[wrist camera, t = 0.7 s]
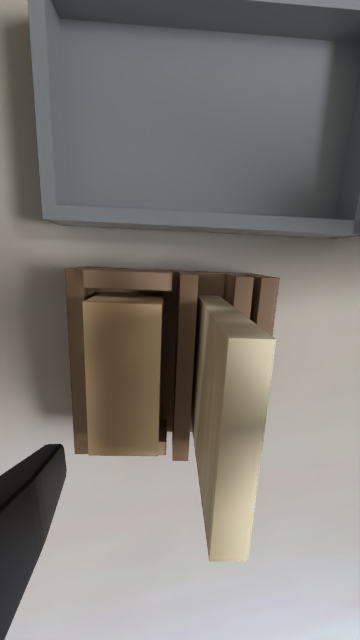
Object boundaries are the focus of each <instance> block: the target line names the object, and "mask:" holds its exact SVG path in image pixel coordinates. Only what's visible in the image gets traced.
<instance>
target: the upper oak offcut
mask: <svg viewBox="0 0 360 640" xmlns="http://www.w3.org/2000/svg"><path fill="white" fill-rule="evenodd" d="M162 316H163V298H137V297H110V296H93V297H91V298H89V299H87V300H85V301H83V327H84V353H85V378H86V404H87V429H88V454H89V455H102V456H158V443H159V421H160V386H161V351H162Z"/></svg>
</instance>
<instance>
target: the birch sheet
mask: <svg viewBox="0 0 360 640" xmlns="http://www.w3.org/2000/svg"><path fill="white" fill-rule="evenodd" d="M275 345H276V339H275V338H274V337H272V336H271V335H270V334H268V333H267V332H266V331H265V330H263V329H262V328H261V327H259V326H258V325H257V324H255V323H254V322H253V321H251V320H250V319H249V318H248V317H246V316H245V315H244V314H242V313H241V312H240V311H238V310H237V309H236V308H235V307H233V306H232V305H231V304H229V303H228V302H227V301H225V300H224V299H223V298H222V297H220V296H212V295H198V296H197V313H196V331H195V348H194V365H193V383H192V400H191V423H192V431H193V438H194V446H195V454H196V462H197V469H198V477H199V485H200V493H201V500H202V508H203V516H204V524H205V531H206V539H207V547H208V555H209V561H248V555H249V547H250V539H251V531H252V524H253V516H254V508H255V500H256V493H257V485H258V477H259V469H260V462H261V454H262V446H263V438H264V431H265V423H266V415H267V407H268V400H269V392H270V384H271V376H272V368H273V361H274V353H275Z"/></svg>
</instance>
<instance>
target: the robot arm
mask: <svg viewBox="0 0 360 640" xmlns="http://www.w3.org/2000/svg"><path fill="white" fill-rule="evenodd" d="M65 478H66V462H65V453H64V447H63V445H61V444H47V445H45V446H43V447H42V448H40V449H39V450H37V451H36V452H35V453H33V454H32V455H30V456H29V457H27V458H26V459H24V460H23V461H21V462H20V463H18V464H17V465H15V466H14V467H12V468H11V469H9V470H8V471H6V472H5V473H4V474H2V475H1V476H0V640H4V639H5V637H6V635H7V632H8V630H9V627H10V625H11V623H12V620H13V618H14V615H15V613H16V611H17V608H18V606H19V604H20V601H21V599H22V596H23V594H24V592H25V589H26V587H27V584H28V582H29V580H30V577H31V575H32V573H33V570H34V568H35V565H36V563H37V561H38V558H39V556H40V553H41V551H42V548H43V546H44V543H45V541H46V538H47V535H48V532H49V529H50V525H51V522H52V519H53V516H54V513H55V510H56V506H57V503H58V500H59V497H60V494H61V491H62V488H63V484H64V481H65Z"/></svg>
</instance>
